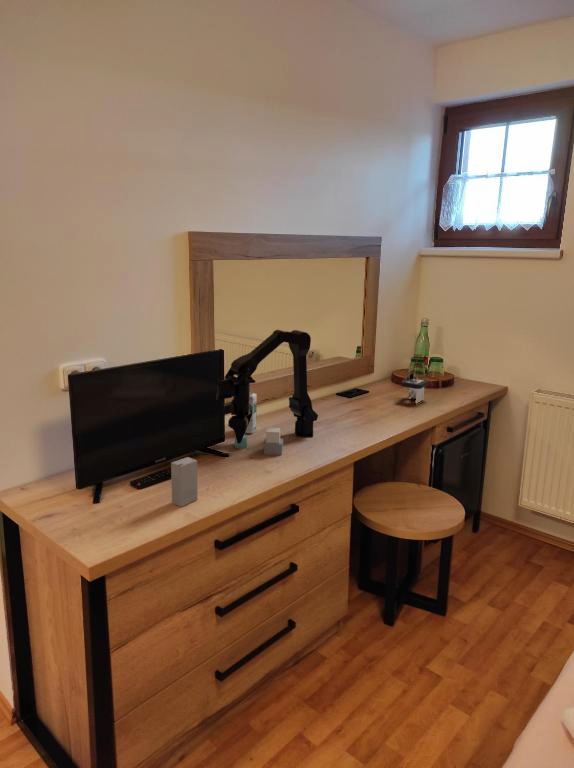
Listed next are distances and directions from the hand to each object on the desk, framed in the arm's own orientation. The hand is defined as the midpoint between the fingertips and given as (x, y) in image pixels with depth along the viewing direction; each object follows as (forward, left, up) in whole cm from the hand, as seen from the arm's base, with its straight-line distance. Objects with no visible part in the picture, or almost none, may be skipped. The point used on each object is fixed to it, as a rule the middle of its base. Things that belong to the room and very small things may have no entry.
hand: (241, 438), depth 204 cm
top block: (-12, +3, +1) cm, 12 cm away
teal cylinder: (0, 0, -3) cm, 3 cm away
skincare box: (+9, +46, -3) cm, 47 cm away
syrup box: (0, -17, -3) cm, 17 cm away
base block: (-12, +3, -3) cm, 13 cm away
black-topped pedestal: (-70, -72, -4) cm, 100 cm away
